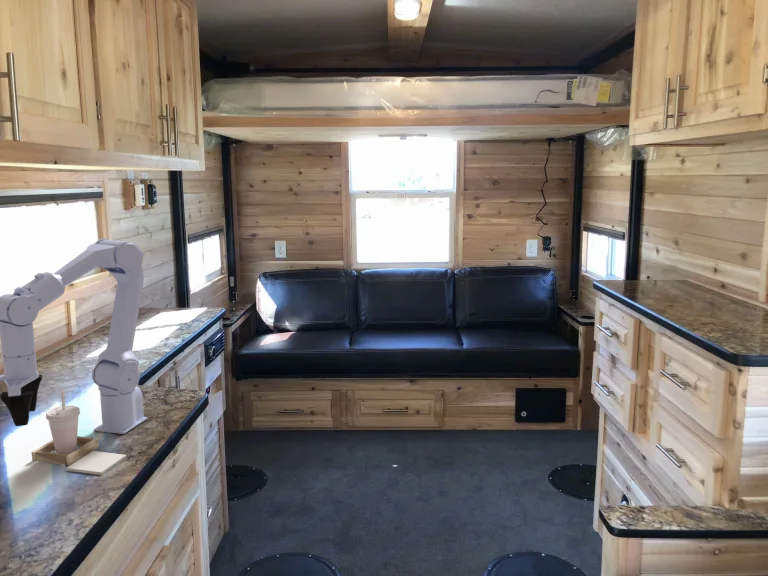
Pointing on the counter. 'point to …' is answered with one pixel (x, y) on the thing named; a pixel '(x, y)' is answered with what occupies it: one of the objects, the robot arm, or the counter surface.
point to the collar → (47, 456)
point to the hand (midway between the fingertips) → (25, 417)
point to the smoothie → (64, 427)
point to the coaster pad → (96, 462)
